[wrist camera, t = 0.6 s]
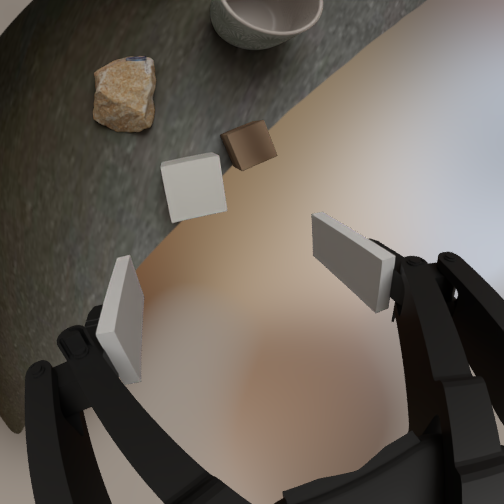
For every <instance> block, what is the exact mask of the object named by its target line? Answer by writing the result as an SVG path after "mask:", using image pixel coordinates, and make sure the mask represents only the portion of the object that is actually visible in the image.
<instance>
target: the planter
mask: <svg viewBox="0 0 504 504" xmlns="http://www.w3.org/2000/svg"><path fill="white" fill-rule="evenodd" d="M322 10H323V0H212V2H211V8H210V17H211V22H212V25H213V27H214V29H215V31H216V32H217V33H218V35H219V36H220V37H221V38H222V39H224V40H225V41H226V42H228V43H229V44H231V45H233V46H236V47H238V48H242V49H247V50H262V49H268V48H271V47H274V46H277V45H279V44H281V43H283V42H285V41H287V40H289V39H291V38H293V37H295V36H297V35H299V34H301V33H302V32H304V31H306V30H308V29H310V28H311V27H312V26H314V25H315V23H316V22H317V21H318V20H319V18H320V16H321V14H322Z"/></svg>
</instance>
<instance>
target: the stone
mask: <svg viewBox="0 0 504 504" xmlns="http://www.w3.org/2000/svg"><path fill="white" fill-rule="evenodd" d="M94 77H95V87H96V92H95V95H94V96H95V101H94V109H93V119H94V120H96V121H97V122H98V123H100V124H102V125H106V126H107V127H108V128H110V129H112V130H115V131H116V132H130V133H131V132H140V131H142V130H143V129H146V128H149V127H151V125H152V123H153V119H154V113H155V106H154V102H153V94H154V90H155V84H156V77H155V67H154V61H153V60H152V59H151V58H148V57H146V56H138V57H126V58H123V59H118V60H115V61H113V62H111V63H109V64H108V65H106V66H104V67H102V68H100V69H99V70H97V71H96V72H95V73H94Z"/></svg>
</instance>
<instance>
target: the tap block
mask: <svg viewBox="0 0 504 504" xmlns="http://www.w3.org/2000/svg"><path fill="white" fill-rule="evenodd" d="M161 172H162V178H163V183H164V188H165V193H166V198H167V203H168V207H169V212H170V217H171V221H172V223H174V222H178V221H183V220H187V219H192V218H197V217H201V216H206V215H210V214H215V213H220V212H225V211H227V205H226V199H225V192H224V185H223V179H222V172H221V165H220V158H219V155H217V154H215V153H213V152H211V153H205V154H200V155H194V156H189V157H184V158H179V159H174V160H170V161H165V162H162V163H161Z"/></svg>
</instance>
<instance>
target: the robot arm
mask: <svg viewBox="0 0 504 504" xmlns="http://www.w3.org/2000/svg"><path fill="white" fill-rule="evenodd" d="M312 234H313V235H312V236H313V256H314V257H315V258H317V259H318V260H319V261H320V262H321V263H322V264H323V265H324V266H326V268H328V269H329V270H330V271H331V272H332V273H333V274H334V275H335V276H336V277H337V278H338V279H340V280H341V281H342V282H343V283H344V284H345V285H346V286H347V287H348V288H349V289H350V290H352V291H353V292H354V293H355V294H356V295H357V296H358V297H359V298H360V299H361V300H362V301H363V302H364V303H365V304H366V305H368V306H369V307H370V308H371V309H372V310H373V311H374V312H375V313H378V312H380V311H382V310H385V309H387V308H388V306H389V300H390V297H391V298H392V299H393V300H394V301H395V305H394V311H393V316H392V322H394V319H395V318H396V322H397V328H398V333H399V339H400V346H401V352H402V359H403V366H404V374H405V383H406V392H407V402H408V416H409V431H408V433H407V434H406V435H404V436H402V437H401V438H399V439H397V440H396V441H394V442H392V443H391V444H389V445H387V446H386V447H384V448H383V449H382V450H381V451H380V452H379V453H378V454H377V455H376V456H374V457H373V458H372V459H371V460H370V461H369V462H368V463H366V464H365V465H364V466H363V467H362V468H360V469H359V470H357V471H354V472H350V473H346V474H341V475H336V476H331V477H326V478H320V479H317V480H314V481H311V482H309V483H306V484H303V485H300V486H298V487H295V488H292V489H289V490H286V491H283V499H281V500H279V501H277V502H276V503H274V504H504V446H503V445H500V441H499V435H498V430H497V425H496V421H495V417H494V413H493V408H494V410H495V412H496V414H497V415H498V417H499V419H500V421H501V422H502V423H503V425H504V300H503V299H502V298H501V296H500V295H499V294H498V293H497V292H496V291H495V290H494V289H493V288H492V287H491V286H490V285H489V284H488V283H487V282H486V281H485V280H484V279H483V278H482V277H481V276H480V275H479V274H478V273H477V272H476V271H475V270H474V269H473V268H471V266H469V265H468V264H467V263H466V262H465V261H464V260H463V259H462V258H461V257H460V256H458V255H456V254H454V253H452V252H451V253H450V252H443V253H440V254H439V255H438V261H437V263H430V264H428V263H427V262H426V261H425V260H424V259H422V258H420V257H417V256H407V257H403V256H401V255H400V254H398V253H396V252H395V251H393V250H391V249H390V248H388V247H386V246H384V244H382V243H380V242H379V241H376V240H373V239H368V238H366V237H364V236H363V235H361V234H359V233H357V232H356V231H354V230H353V229H351V228H349V227H348V226H346V225H344V224H343V223H341V222H339V221H338V220H336V219H334V218H332V217H331V216H329V215H327V214H326V213H324V212H319V213H315V214H312ZM456 289H457V291H458V297H457V299H456V298H455V297H454V294H455V290H456ZM143 307H144V295H143V292H142V289H141V286H140V284H139V281H138V278H137V275H136V272H135V269H134V266H133V263H132V259H131V256H130V255H127V256H123V257H119V258H117V261H116V264H115V267H114V270H113V273H112V276H111V280H110V283H109V286H108V290H107V293H106V297H105V300H104V304H103V305H99V306H95V307H93V309H92V310H91V311H90V312H89V314H88V317H87V320H86V321H87V322H86V323H85V327H84V326H81V325H75V326H71V327H69V328H67V329H66V330H64V331H63V332H62V333H61V334H60V335H59V336H58V339H57V345H58V347H59V349H60V350H61V352H62V353H63V355H64V357H65V358H66V360H67V362H65V363H63V364H60V365H58V366H56V367H52V365H51V364H50V363H49V362H48V361H45V360H41V361H38V362H36V363H34V364H32V365H31V366H30V367H29V369H28V371H27V372H26V376H25V428H26V444H27V454H28V463H29V471H30V477H31V483H32V489H33V494H34V499H35V504H112V503H111V500H110V498H109V495H108V493H107V490H106V487H105V485H104V482H103V479H102V476H101V473H100V470H99V467H98V464H97V461H96V458H95V455H94V451H93V448H92V444H91V441H90V437H89V433H88V429H87V425H86V421H85V416H84V412H83V410H85V409H87V408H90V407H92V408H93V410H94V411H95V413H96V414H97V416H98V418H99V419H100V421H101V422H102V424H103V426H104V427H105V429H106V430H107V432H108V433H109V435H110V436H111V438H112V439H113V441H114V442H115V443H116V445H117V446H118V448H119V449H120V450H121V452H122V453H123V454H124V456H125V457H126V458H127V460H128V461H129V462H130V464H131V465H132V466H133V467H134V469H135V470H136V471H137V473H138V474H139V475H140V476H141V478H142V479H143V480H144V481H145V482H146V483H147V485H148V486H149V487H150V488H151V489H152V490H153V492H155V494H156V495H157V496H158V497H159V498H160V499H161V500H162V501H163V503H164V504H251V503H250V502H248V501H247V500H246V499H244V498H243V497H241V496H240V495H239V494H237V493H236V492H235V491H233V490H232V489H231V488H230V487H228V486H227V485H226V484H224V483H223V482H222V481H221V480H219V479H218V478H216V477H214V476H212V475H211V474H209V473H208V472H207V471H206V470H205V469H203V468H202V467H201V466H200V465H199V464H198V463H197V462H196V461H195V460H193V459H192V458H191V457H190V456H189V455H188V454H187V453H186V452H185V451H184V450H183V449H182V448H181V447H180V446H179V445H177V443H176V442H175V441H174V440H173V439H172V438H171V437H170V436H169V435H168V434H167V433H166V432H165V431H164V430H163V429H162V428H161V427H160V426H159V425H158V424H157V423H156V422H155V420H154V419H153V418H152V417H151V416H150V415H149V414H148V413H147V412H146V410H145V409H144V408H143V407H142V406H141V405H140V403H139V402H138V401H137V400H136V399H135V398H134V396H133V395H132V394H131V393H130V392H129V390H128V389H127V388H126V387H125V386H124V384H125V385H126V384H132V383H138V382H141V351H142V350H141V349H142V323H143ZM469 365H470V367H471V369H472V370H473V372H474V373H475V375H476V376H474V377H473V376H472V374H471V371H470V367H469ZM119 377H120V379H121V380H122V382H123V383H124V384H123V383H122V382H121V380H120V379H119ZM492 406H493V408H492Z"/></svg>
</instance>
